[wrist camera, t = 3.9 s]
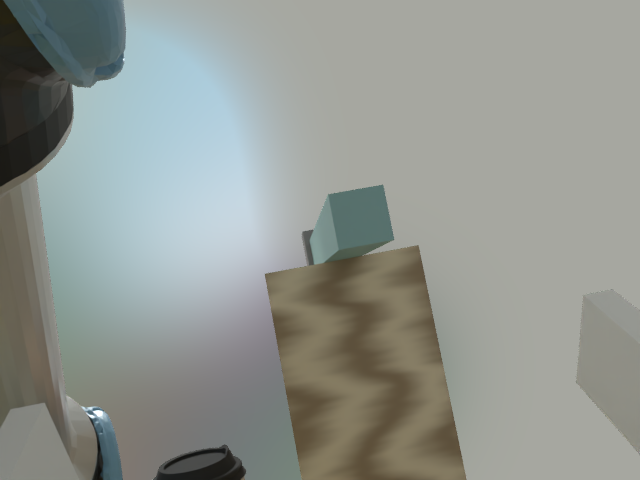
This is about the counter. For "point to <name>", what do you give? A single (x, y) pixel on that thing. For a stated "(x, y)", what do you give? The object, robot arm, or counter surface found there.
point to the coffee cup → (203, 466)
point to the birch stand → (364, 370)
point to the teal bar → (349, 226)
